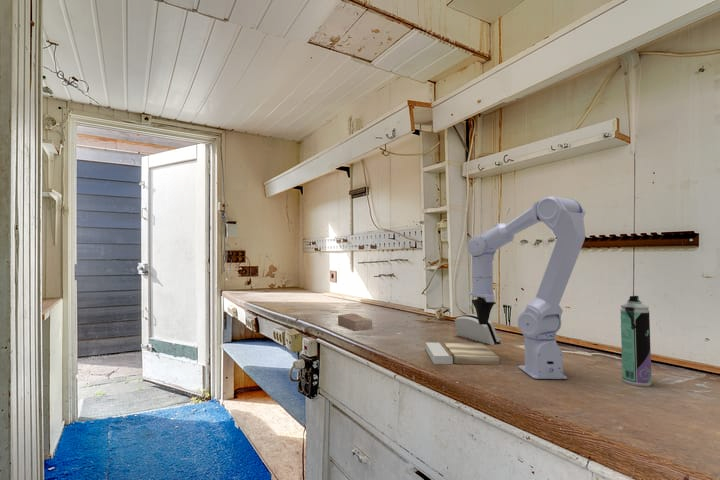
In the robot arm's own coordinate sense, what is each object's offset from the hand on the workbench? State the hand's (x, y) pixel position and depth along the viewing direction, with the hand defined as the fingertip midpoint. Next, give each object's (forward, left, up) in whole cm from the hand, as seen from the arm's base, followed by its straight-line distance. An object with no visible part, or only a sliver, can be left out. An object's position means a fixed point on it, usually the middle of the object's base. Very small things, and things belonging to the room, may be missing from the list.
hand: (483, 324), depth 112 cm
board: (0, +13, -9) cm, 16 cm away
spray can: (-22, -29, -10) cm, 37 cm away
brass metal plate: (0, +4, -9) cm, 10 cm away
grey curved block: (+22, -4, -10) cm, 25 cm away
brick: (+46, +39, -10) cm, 61 cm away
